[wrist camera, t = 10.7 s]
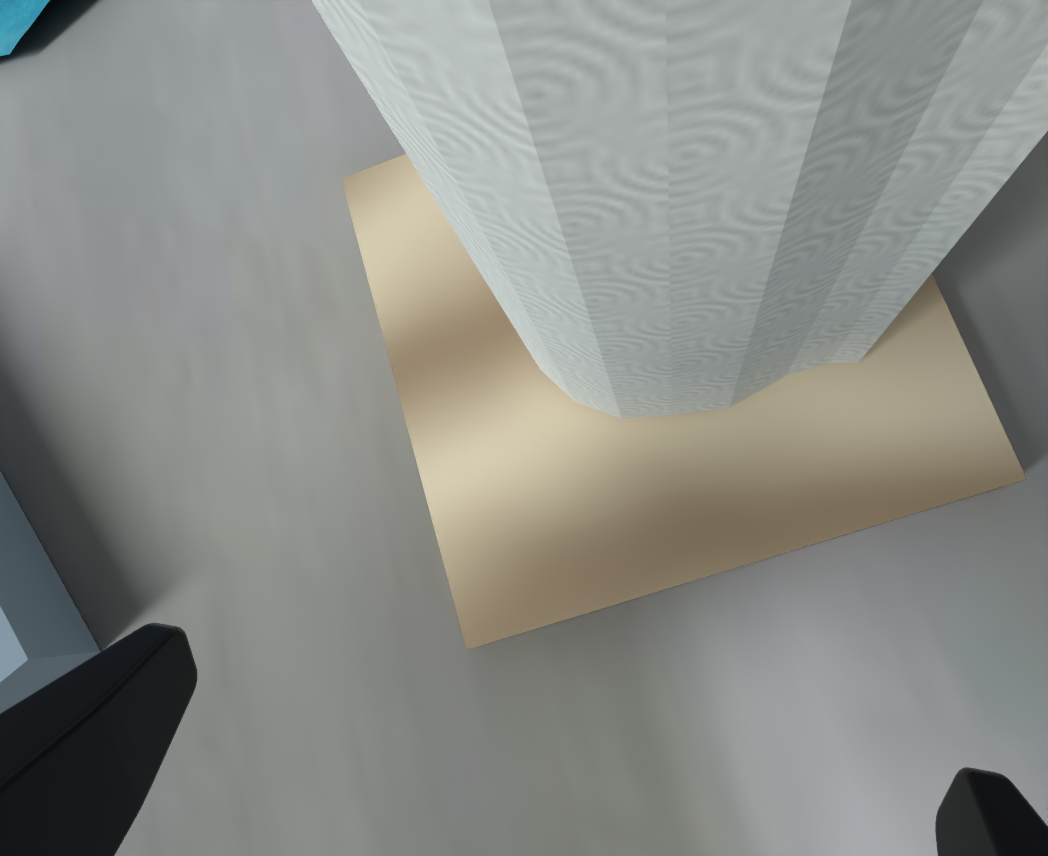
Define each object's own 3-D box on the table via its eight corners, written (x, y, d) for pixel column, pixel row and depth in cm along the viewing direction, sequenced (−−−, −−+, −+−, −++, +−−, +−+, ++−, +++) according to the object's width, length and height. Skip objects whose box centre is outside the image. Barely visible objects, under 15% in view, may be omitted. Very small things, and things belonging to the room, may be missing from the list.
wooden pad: (1008, 485, 18) (1026, 479, 17) (477, 646, 20) (466, 649, 19) (800, 26, 21) (805, -1, 20) (355, 195, 23) (341, 178, 22)
